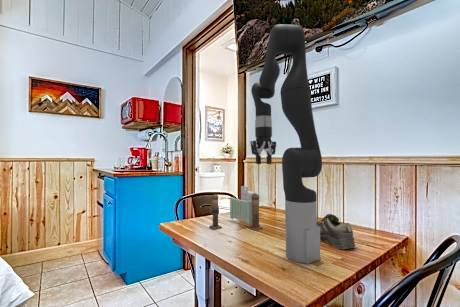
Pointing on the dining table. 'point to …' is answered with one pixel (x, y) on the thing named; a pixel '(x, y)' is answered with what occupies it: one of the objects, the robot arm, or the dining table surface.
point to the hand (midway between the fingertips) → (263, 163)
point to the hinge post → (255, 212)
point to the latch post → (215, 213)
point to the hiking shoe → (336, 232)
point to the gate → (241, 210)
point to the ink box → (246, 194)
